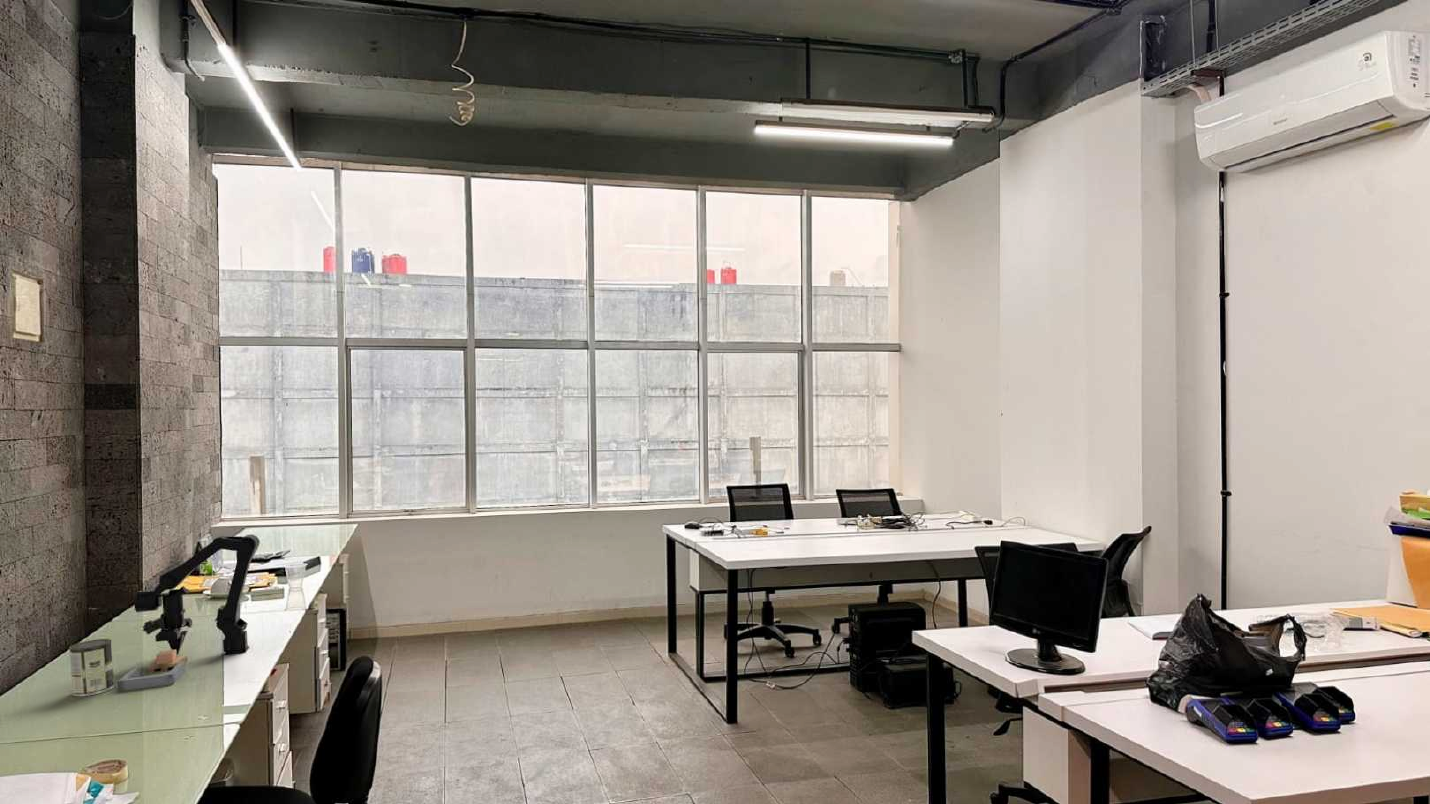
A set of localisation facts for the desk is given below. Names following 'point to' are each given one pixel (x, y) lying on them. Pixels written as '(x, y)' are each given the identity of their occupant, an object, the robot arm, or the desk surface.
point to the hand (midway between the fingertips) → (176, 655)
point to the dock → (150, 678)
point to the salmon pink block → (166, 656)
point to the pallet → (166, 664)
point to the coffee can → (91, 667)
